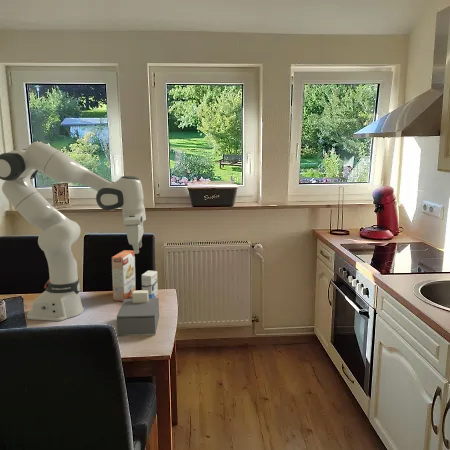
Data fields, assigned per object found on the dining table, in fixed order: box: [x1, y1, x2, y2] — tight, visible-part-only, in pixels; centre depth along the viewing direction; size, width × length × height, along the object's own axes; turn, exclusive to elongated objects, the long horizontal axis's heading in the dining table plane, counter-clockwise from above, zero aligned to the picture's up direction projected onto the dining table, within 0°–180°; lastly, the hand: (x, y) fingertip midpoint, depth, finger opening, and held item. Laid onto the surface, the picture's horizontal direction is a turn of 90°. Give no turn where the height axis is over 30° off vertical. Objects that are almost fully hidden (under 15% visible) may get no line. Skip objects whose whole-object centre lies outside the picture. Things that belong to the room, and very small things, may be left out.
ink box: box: [141, 270, 159, 298], centre depth 195 cm, size 8×5×12 cm, turn 168°
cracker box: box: [111, 249, 137, 302], centre depth 195 cm, size 14×6×21 cm, turn 170°
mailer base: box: [116, 300, 160, 337], centre depth 164 cm, size 14×18×7 cm
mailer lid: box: [116, 290, 159, 319], centre depth 163 cm, size 14×18×5 cm
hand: (138, 250), depth 167 cm, fingers open, 8 cm apart
